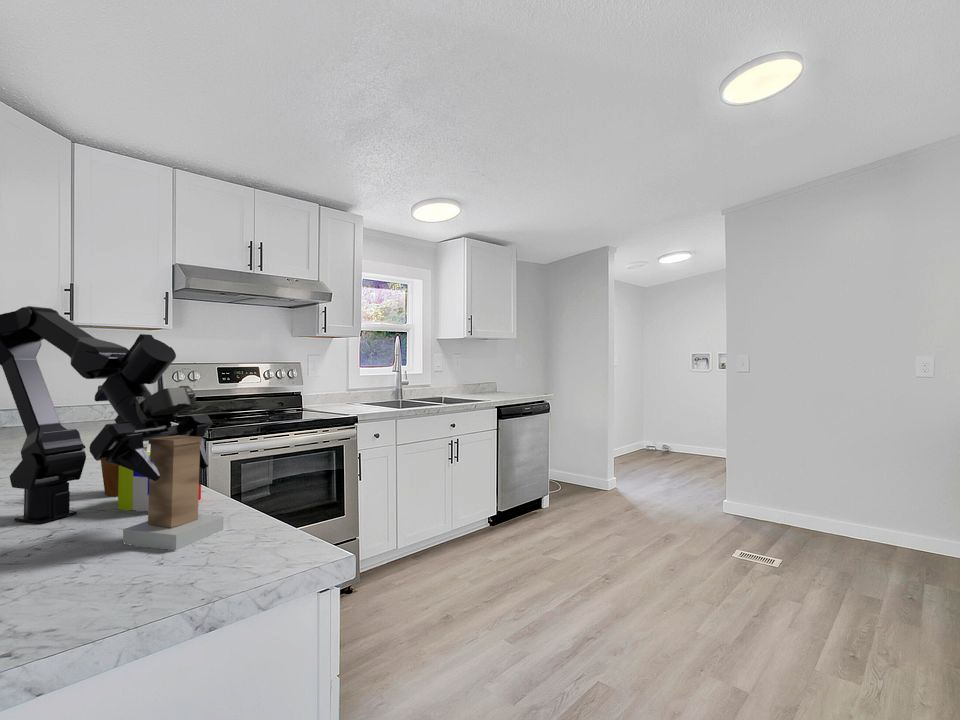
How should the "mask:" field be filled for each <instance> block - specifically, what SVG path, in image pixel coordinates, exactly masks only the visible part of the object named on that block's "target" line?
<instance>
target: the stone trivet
mask: <svg viewBox="0 0 960 720" xmlns="http://www.w3.org/2000/svg"><path fill="white" fill-rule="evenodd" d="M222 530H223V531H224V515H223V516H222V515H213V514H202V513H198V520H195V521H191V522H188V523H185V524H182V525H179V526H175V527H172V528H169V527H162V526H155V525H148V520H147V521H144V522H140V523H138V524H136V525H132V526H128V527H127V528H126V527H125V528H124V529H123V530H122V544H123V543H125V544H131V545H135V546H134V547H139V546H142V548H147V547H152V548H151V549H155V548H160V549H159V550H164V549H168V550H167V551H172V550H177V551H179V550H178V549H180V550H181V548H182V549H184V548H186V547H189V546H190V545H189V544H191V545H193V544H194V543H193V542H196V541H198V540H200V539H203V538H205V537H207V538H209V537H211V536H210V535H212V534H214V533H216V534H218V533H217V532H219V531H221V532H223V531H222ZM219 533H220V532H219ZM214 535H215V534H214ZM208 536H209V537H208ZM212 536H213V535H212ZM205 539H206V538H205ZM203 540H204V539H203ZM200 541H201V540H200ZM198 542H199V541H198ZM192 543H193V544H192ZM196 543H197V542H196ZM131 545H130V546H131ZM188 545H189V546H188ZM185 546H186V547H185ZM183 547H184V548H183Z"/></svg>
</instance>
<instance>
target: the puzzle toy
mask: <svg viewBox="0 0 960 720" xmlns="http://www.w3.org/2000/svg"><path fill="white" fill-rule="evenodd" d="M147 453H148V455H149V457H150V451H147ZM117 497H118V498H117V510H119V509H125V510H124V511H130V510H136V511H135V512H142V511H148V506H149V478H147V477H145V476H143V475H141V474H139V473H137V472H135V471H132V470H130V469H127V468H125V467H122V466H120V465H119V480H118V496H117ZM200 499H201V500H202V468H200V467H199V496H198V500H199V501H201V500H200Z"/></svg>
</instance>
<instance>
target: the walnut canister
mask: <svg viewBox="0 0 960 720" xmlns="http://www.w3.org/2000/svg"><path fill="white" fill-rule="evenodd" d="M200 442H202V437H196V436H181V435H176V436H168V437H159V438H151V439H149V445H150V450H149V452H150V458H151V460H152V461H153V463H154V464H155V466H156V468H157V469H158V472H159V474H160V476H161V477H160V478H159V480H158V481H153V480H151V479H149V506H148V512H147V521H148V525H155V526H162V527H169V528H172V527H175V526H179V525H182V524H185V523H188V522H191V521H195V520H198V514H199V501H198V496H199V464H200Z"/></svg>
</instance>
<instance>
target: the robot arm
mask: <svg viewBox="0 0 960 720" xmlns="http://www.w3.org/2000/svg"><path fill="white" fill-rule="evenodd" d="M43 340H45V341H47V342H48V343H50V344H51V345H52V346H54V347H55V348H57V349H59V350H60V351H61V352H63V354H66V355H67V356H68V357H69V358H70V366H71V367H72V368H73V369H74V370H75V372H77V373H78V374H79V375H80V376H81V377H82V378H84V379H86V380H95V379H96V380H98V379H99V380H100V379H101V380H103V379H105V381H104V382H103V383H102V384H101V385H98V386H97V391H96V392H95V394H94V402H109V403H110V405H111V407H112V408H113V409H114V411H115V412H116V414H117V416H116V417H115V419H114V423H106V424H105V425H104V426H103V427H102V429H101V430H100V431H99V433H98V434H97V435H96V436H95V438H94V439H93V440H92V441H91V442H90V444H89V452H90V454H91V456H92V457H93V459H94V460H95V461H101V460H104V459H105V461H106V462H107V463H115V464H117V465H120V466H122V467H125V468H127V469H130V470H132V471H135V472H137V473H139V474H141V475H143V476H145V477H147V478H149V479H151V480H153V481H158V480H159V478H160V477H161V476H160V474H159V472H158V469H157V468H156V466H155V464H154V463H153V461H152V460H151V458H150V457H149V455H148V453H147V452H148V451H147V452H146V450H145V449H144V446H143V441H145V442H149V439H151V438H159V437H168V436H176V435H181V436H196V437H202V442H200V464H199V467H200V468H201V470H206V469H207V468H208V467H209V462H208V457H207V453H206V447H205V441H204V440H205V438H204V436H205V435H206V433H207V431H208V430H210V427H212V425H213V424H214V423H213V421H212V419H211V417H210V416H209V415H208V413H198V414H197V413H195V414H189V415H185V416H184V417H183V418H182V419H181V421H180V422H179V423H178V424H176V425H174V424H173V425H172V421H175V420H176V419H177V418H178V417H179V414H178V412H180V411H181V410H183V409H185V408H189V407H191V406H192V404H193V403H195V402H196V400H197V396H196V393H195V391H194V390H193V388H191V387H190V385H180V386H179V387H167V388H163V389H160V390H158V391H156V392H154V393H153V394H152V392H151V391H150V390H149V389H148V387H147V386H146V385H153V384H155V383H157V382H158V380H159V379H160V378H161V377H162V375H164V373H165V372H166V371H167V370H168V368H169V367H170V366H171V365H172V363H173V362H174V361H175V360H176V358H177V354H176V352H175V350H174V348H172V347H171V346H169V345H167V344H166V343H165V342H163V341H161V340H159V339H156V338H154V336H153V335H152V334H144V333H140V334H139V335H138V336H137V337H136V339H135V342H134V343H133V344H132V345H131V347H130V348H129V349H128V348H127V347H125V346H123V345H120V344H118V343H115V342H112V341H111V342H110V341H107V340H102V339H98V338H96V337H94V336H92V335H91V334H89V333H88V332H86V331H84V330H83V329H82V328H80V327H79V326H77V325H75V324H74V323H72V322H71V321H70V320H68V319H66V318H65V317H63V316H62V315H60V313H59V312H58V311H57V310H55V309H53V308H51V307H43V306H42V307H41V306H40V307H39V306H32V305H28V306H23V307H21V308H18V309H16V310H14V311H10V312H5V313H0V366H1V367H2V370H3V373H4V376H5V379H6V381H7V383H8V387H9V390H10V392H11V395H12V398H13V400H14V403H15V406H16V408H17V412H18V414H19V418H20V420H21V423H22V426H23V429H24V431H25V433H26V437H25V438H26V439H25V441H24V442H23V445H22V447H21V450H20V457H21V461H20V462H19V463H18V464H17V465H16V467H15V469H14V470H13V471H12V472H11V474H10V475H9V479H10V485H11V487H12V488H14V489H21V490H24V491H23V515H19V516H16V517H13V518H14V519H13V521H16V522H24V523H33V524H44V523H48V522H51V521H56V520H58V519H62V518H65V517H66V518H67V517H68V516H72V515H75V514H78V513H77V512H78V511H77V510H71V509H70V505H71V504H70V501H71V500H70V499H71V496H70V495H71V492H70V482H71V481H79V480H81V477H82V473H83V470H84V466H85V465H86V464H85V463H86V459H87V454H86V451H85V449H86V448H87V447H86V445H85V444H84V443H83V441H82V438H81V434H80V431H79V430H78V429H77V428H71V429H68V428H66V427H64V426H62V424H61V421H60V418H59V416H58V414H57V410H56V408H55V405H54V403H53V401H52V397H51V395H50V391H49V390H48V387H47V383H46V382H45V379H44V376H43V373H42V370H41V368H40V366H39V363H38V360H37V357H38V353H39V352H40V349H41V347H42V341H43Z"/></svg>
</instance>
